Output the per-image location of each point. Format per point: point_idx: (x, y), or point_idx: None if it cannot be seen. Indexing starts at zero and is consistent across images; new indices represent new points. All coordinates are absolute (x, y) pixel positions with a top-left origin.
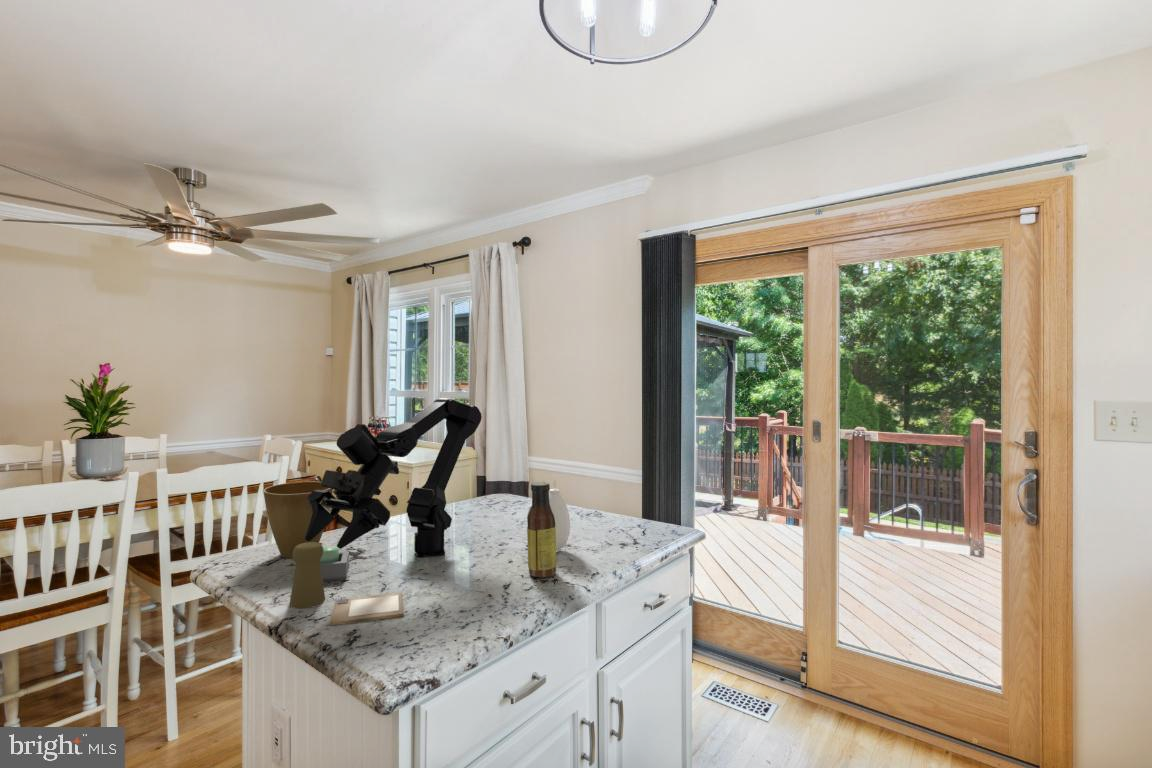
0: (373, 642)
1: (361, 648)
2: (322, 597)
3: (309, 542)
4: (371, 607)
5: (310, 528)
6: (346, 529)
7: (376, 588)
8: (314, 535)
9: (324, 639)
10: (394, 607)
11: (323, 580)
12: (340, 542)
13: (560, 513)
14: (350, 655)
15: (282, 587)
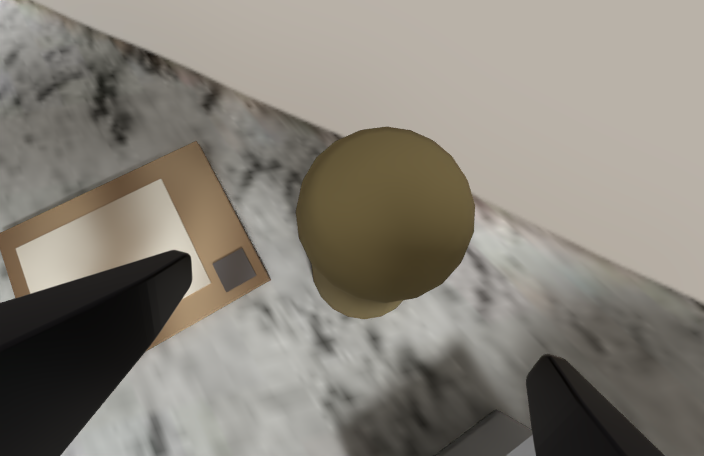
0: (47, 96)
1: (66, 70)
2: (313, 270)
3: (401, 214)
4: (116, 248)
5: (618, 440)
6: (26, 324)
7: (188, 440)
8: (543, 446)
9: (174, 87)
10: (36, 264)
11: (440, 452)
12: (147, 258)
13: None
14: (79, 44)
15: (539, 353)
